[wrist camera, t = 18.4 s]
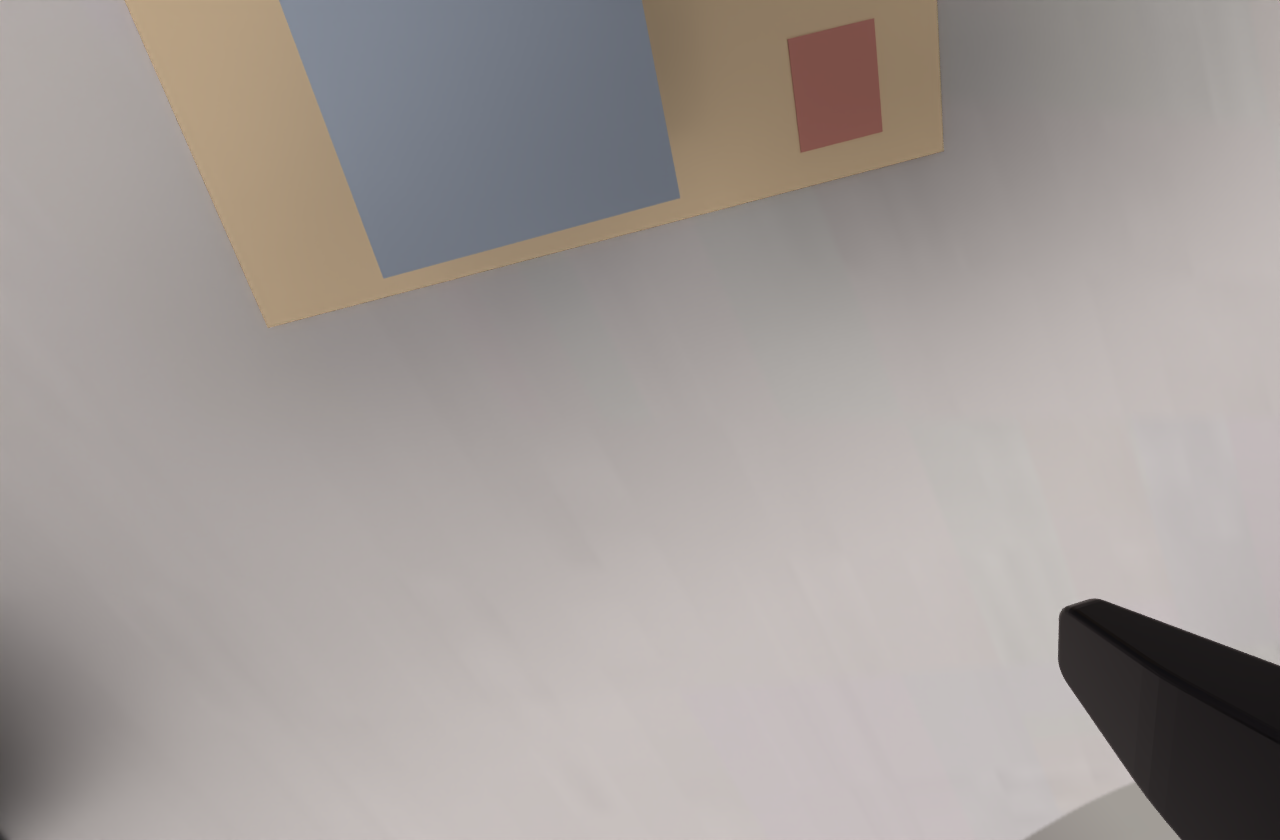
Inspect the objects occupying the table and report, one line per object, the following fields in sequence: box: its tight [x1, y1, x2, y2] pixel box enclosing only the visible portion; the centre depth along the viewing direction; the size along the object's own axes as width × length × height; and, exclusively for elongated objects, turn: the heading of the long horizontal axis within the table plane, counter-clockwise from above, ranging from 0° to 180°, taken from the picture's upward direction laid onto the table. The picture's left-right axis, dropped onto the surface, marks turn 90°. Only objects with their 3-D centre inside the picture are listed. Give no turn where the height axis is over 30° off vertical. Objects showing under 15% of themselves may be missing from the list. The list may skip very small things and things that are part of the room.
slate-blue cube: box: [279, 0, 680, 279], centre depth 14 cm, size 5×5×5 cm
